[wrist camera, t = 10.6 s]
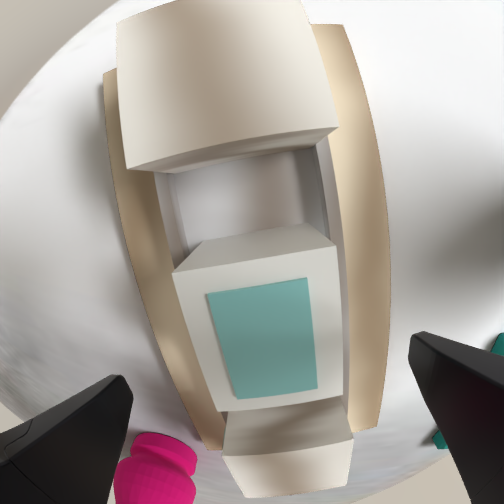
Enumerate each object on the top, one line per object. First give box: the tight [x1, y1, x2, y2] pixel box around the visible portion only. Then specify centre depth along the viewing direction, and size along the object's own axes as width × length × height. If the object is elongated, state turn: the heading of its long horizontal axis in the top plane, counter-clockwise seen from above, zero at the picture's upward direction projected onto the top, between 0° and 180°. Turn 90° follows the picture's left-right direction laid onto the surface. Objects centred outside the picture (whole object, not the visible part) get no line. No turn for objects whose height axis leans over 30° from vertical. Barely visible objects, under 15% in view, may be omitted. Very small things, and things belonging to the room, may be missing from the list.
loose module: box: [172, 223, 343, 412], centre depth 11 cm, size 5×6×5 cm
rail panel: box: [103, 0, 391, 498], centre depth 12 cm, size 14×28×7 cm, turn 10°
